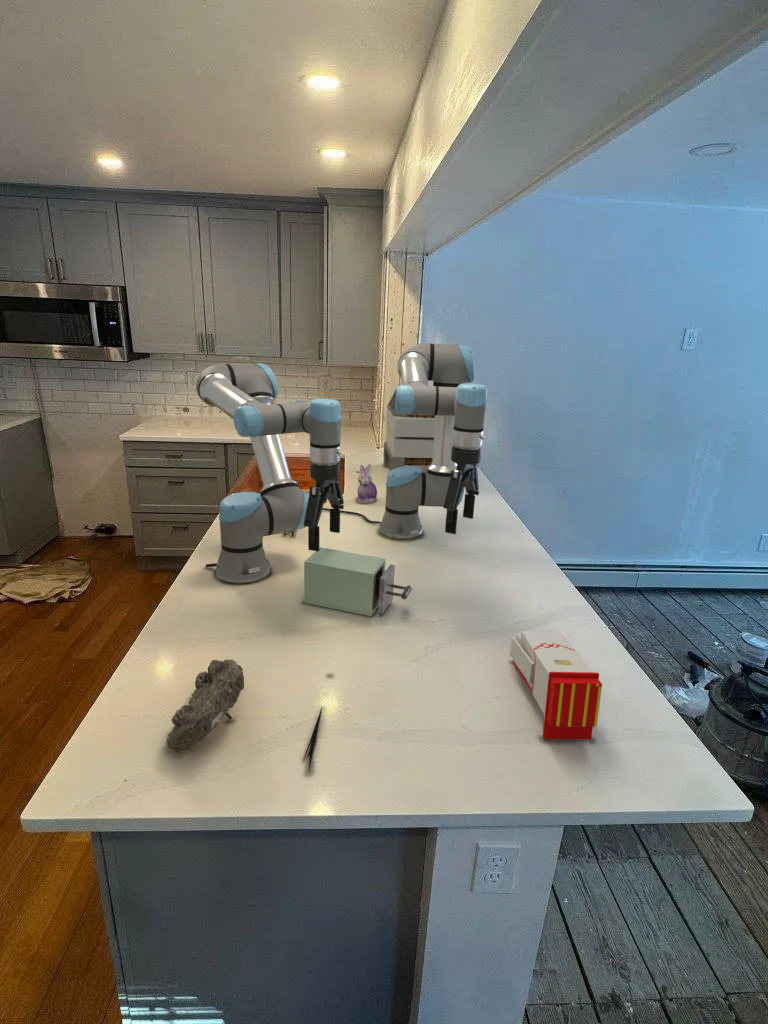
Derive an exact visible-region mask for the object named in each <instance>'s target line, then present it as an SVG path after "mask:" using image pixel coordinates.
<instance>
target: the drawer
mask: <svg viewBox="0 0 768 1024" xmlns="http://www.w3.org/2000/svg"><path fill="white" fill-rule="evenodd" d="M395 568H396V565H395V564H393V563H390V564H389V566H387V568H386V569H385V572H384V574H383V569H384V566H382V567H381V568H380V570H379V571H378V572H377V574H376V575H375V576H374V596H373V609H374V607H375V606H376V604H377V603H378V602H379V606H378V608H377V609H378V612H377V613H378V614H380V615H383V614H384V613H385V611H386V610H387V608H388V607H389V606H390V604H391V602H392V600H393V599H394V597H400V599H402V600H405V601H406V600H407V598H408V597H409V595H410V593H411V592H412V590H413V587H412V586H411V585H407V586H402V585H397V584H395V570H396V569H395ZM394 589H397V590H398V589H399V590H403V591H402V593H399V592H394Z"/></svg>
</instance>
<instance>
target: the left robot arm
mask: <svg viewBox="0 0 768 1024" xmlns="http://www.w3.org/2000/svg"><path fill="white" fill-rule="evenodd" d="M276 377H277V376H276V375H275V372H274V371H273V370H272V369H271V367H270V366H269V365H267V364H264V363H257V362H250V363H216V364H213V365H210V366H208V367H206V368H205V369H203V371H201V373H200V374H199V375H198V377H197V379H196V382H195V389H196V393H197V396H198V397H199V399H201V401H202V402H203V403H205V404H206V405H208V406H210V407H214V408H218V410H219V411H222V413H224V414H225V415H227V416H228V417H229V418H231V419H232V420H233V425H234V429H235V430H236V433H237V434H238V436H240V437H243V438H249V439H250V443H251V447H252V450H253V453H254V457H255V461H256V464H257V468H258V472H259V475H260V480H261V483H262V488H261V490H260V491H259V492H256V491H240V492H236V493H232V494H229V495H228V496H225V497H224V498H223V499H221V501H220V503H219V506H218V507H219V509H218V510H219V512H218V520H219V534H220V547H221V548H220V552H219V556H218V559H217V562H216V563H215V562H214V563H206V564H205V568H213V567H216V569H215V575H216V577H217V578H218V579H219V580H220V581H223V582H225V583H228V584H229V583H230V584H235V585H236V584H238V585H239V584H240V585H241V584H243V585H244V584H251V583H255V582H259V581H261V580H263V579H265V578H266V577H267V576H268V575H269V574H270V572H271V569H270V568H271V566H270V562H269V560H268V558H267V555H266V553H265V549H264V545H263V544H264V541H263V539H264V537H269V536H274V535H278V534H279V535H280V534H284V533H285V532H286V533H288V532H290V531H291V533H292V532H294V531H295V530H297V531H298V530H299V531H300V530H303V529H305V528H307V529H308V530H307V533H308V534H307V536H308V537H307V538H308V539H307V542H308V543H307V544H308V545H307V546H308V548H307V549H308V551H312V552H313V551H314V552H316V551H319V548H320V526H319V523H320V522H319V521H320V519H321V517H322V513H323V510H322V509H323V508H324V505H325V504H326V503H327V502H328V503H329V505H330V508H329V509H330V511H329V532H330V533H336V534H339V533H341V512H340V510H344V509H345V505H344V502H345V500H344V496H343V492H342V486H341V479H340V477H341V464H340V461H341V455H342V453H343V452H342V450H341V433H342V432H341V430H342V424H341V423H342V414H341V402H340V401H338V400H337V399H331V398H314V399H312V400H310V401H307V400H304V399H303V400H301V399H296V400H293V401H291V402H288V403H287V402H286V403H275V402H276V401H275V400H276V399H277V397H278V394H279V393H278V392H279V389H278V381H277V378H276ZM296 433H297V434H298V433H306V434H308V435H309V461H310V463H309V477H310V478H311V479H312V480H314V481H315V483H314V486H309V489H308V492H307V490H304V489H300V485H299V483H298V482H297V481H296V480H293V479H292V476H291V473H290V469H289V466H288V465H289V464H288V462H287V459H286V456H285V455H286V454H285V452H284V448H283V445H282V440H281V438H280V437H281V436H280V435H286V434H296ZM294 533H295V532H294Z"/></svg>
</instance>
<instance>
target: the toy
mask: <svg viewBox="0 0 768 1024" xmlns="http://www.w3.org/2000/svg"><path fill="white" fill-rule="evenodd" d="M515 634H516V635H515V637H514V636H512V637H511V639H510V640H511V641H510V649H509V656H510V658H511V661H512V663H513V665H514V666H515V668H516V670H517V671H518V673H519V675H520V676H521V678H522V679H523V681H524V682H525V684H526V686H527V687H528V689H529V690H530V693H532V695H533V697H534V699H535V701H536V703H537V705H538V707H539V708H540V710H541V712H542V714H543V715H544V718H543V727H542V739H543V740H584V741H585V740H588V741H589V740H592V738H593V729H594V728H597V727H598V720H599V713H600V706H601V696H602V689H603V683H602V682H601V680H600V673H599V672H593V671H592V669H591V668H590V667H589V666H588V665H587V663H586V662H585V661H584V659H583V658H582V657H581V656H580V655H579V653H578V652H577V651H576V650H575V648H574V647H573V645H572V644H571V643H570V642H569V641H568V640H567V639H566V637H565V636H564V635H563V634H562V632H561V631H526V630H525V631H524V630H523V631H522V630H521V631H520V632H516V633H515Z"/></svg>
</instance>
